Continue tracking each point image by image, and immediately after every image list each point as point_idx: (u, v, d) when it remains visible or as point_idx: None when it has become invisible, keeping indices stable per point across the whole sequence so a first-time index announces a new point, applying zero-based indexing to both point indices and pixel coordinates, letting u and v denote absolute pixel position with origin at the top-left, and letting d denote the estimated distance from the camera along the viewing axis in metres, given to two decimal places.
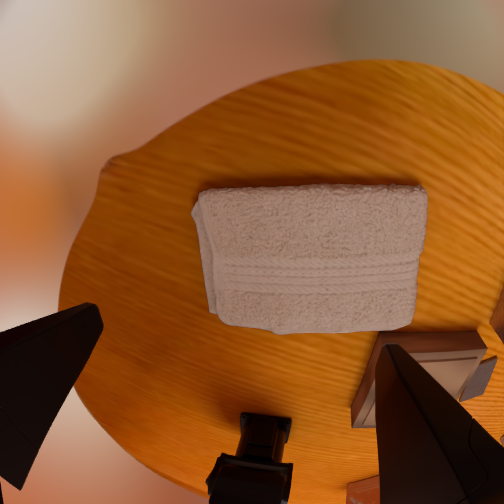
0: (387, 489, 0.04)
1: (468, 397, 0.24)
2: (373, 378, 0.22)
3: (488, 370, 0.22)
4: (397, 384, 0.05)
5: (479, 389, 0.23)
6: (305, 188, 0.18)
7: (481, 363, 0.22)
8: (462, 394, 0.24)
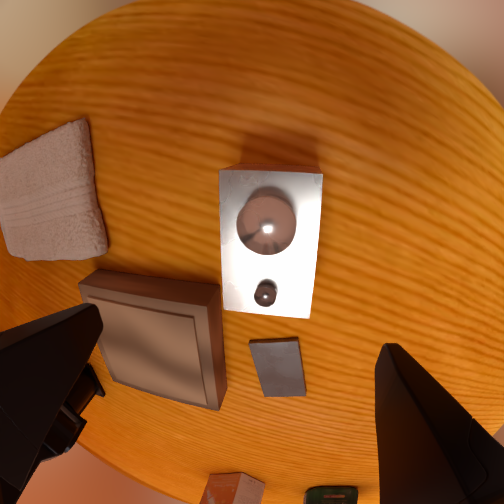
0: (387, 489, 0.04)
1: (276, 393, 0.24)
2: None
3: (288, 357, 0.22)
4: (397, 384, 0.05)
5: (292, 386, 0.23)
6: (20, 148, 0.18)
7: (265, 342, 0.22)
8: (262, 385, 0.24)
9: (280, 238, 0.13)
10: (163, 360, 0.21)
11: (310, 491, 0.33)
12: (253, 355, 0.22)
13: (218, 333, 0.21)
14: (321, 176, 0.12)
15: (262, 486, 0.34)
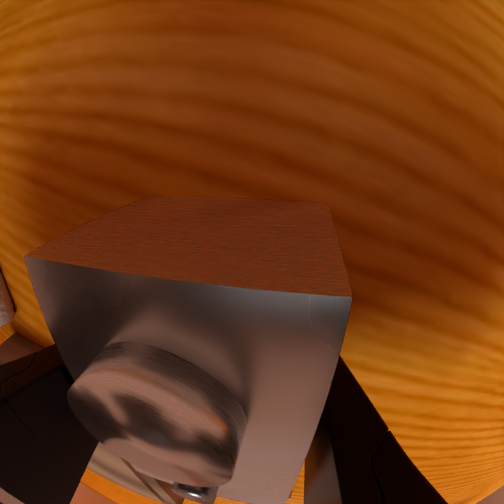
0: (307, 492, 0.04)
1: None
2: None
3: None
4: None
5: None
6: None
7: None
8: None
9: (190, 473, 0.03)
10: (98, 461, 0.11)
11: None
12: None
13: None
14: (345, 305, 0.03)
15: None
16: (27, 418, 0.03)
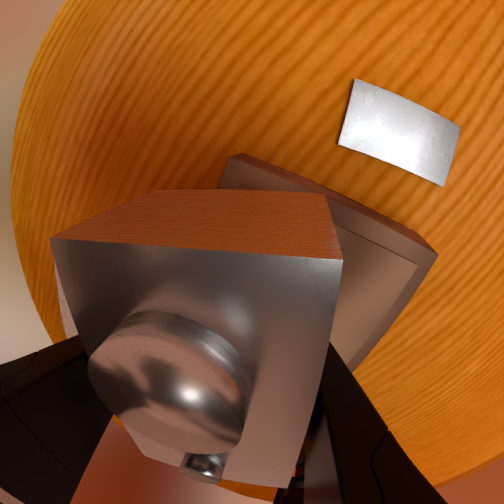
0: (307, 492, 0.04)
1: (443, 164, 0.13)
2: None
3: (381, 104, 0.12)
4: None
5: (437, 133, 0.12)
6: (63, 319, 0.23)
7: (344, 120, 0.13)
8: (422, 176, 0.14)
9: (201, 437, 0.04)
10: None
11: None
12: (361, 150, 0.14)
13: (304, 180, 0.14)
14: (337, 267, 0.03)
15: None
16: (27, 418, 0.03)
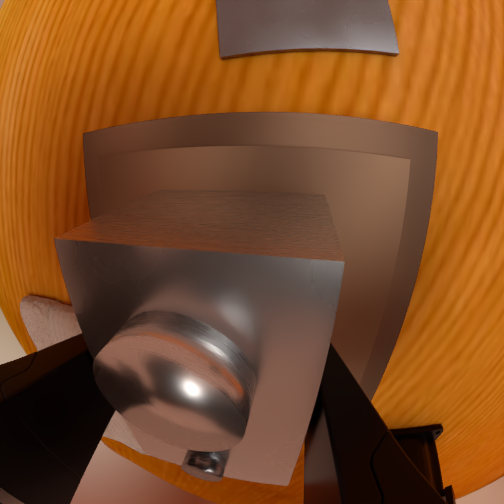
0: (307, 492, 0.04)
1: (382, 24, 0.07)
2: None
3: None
4: None
5: None
6: None
7: (219, 29, 0.08)
8: (360, 49, 0.08)
9: (205, 434, 0.04)
10: None
11: None
12: (254, 49, 0.09)
13: None
14: (339, 269, 0.03)
15: None
16: (27, 419, 0.03)
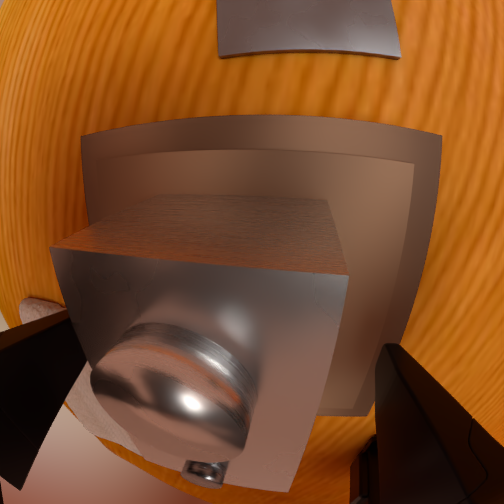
0: (387, 489, 0.04)
1: (384, 27, 0.07)
2: None
3: None
4: (397, 384, 0.05)
5: None
6: None
7: (218, 28, 0.08)
8: (361, 52, 0.08)
9: (205, 447, 0.04)
10: None
11: None
12: (253, 49, 0.08)
13: None
14: (343, 283, 0.03)
15: None
16: None
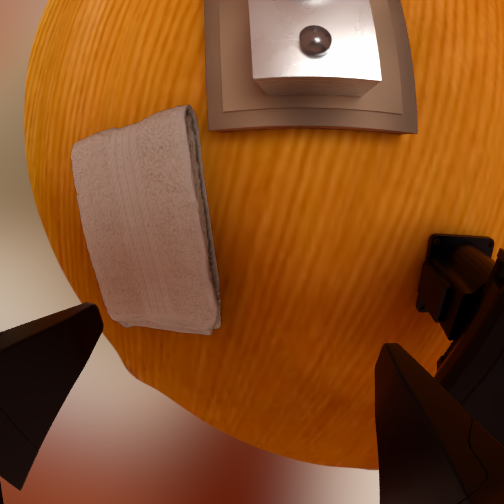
0: (387, 489, 0.04)
1: None
2: (269, 126, 0.14)
3: None
4: (397, 384, 0.05)
5: None
6: (88, 246, 0.21)
7: None
8: None
9: None
10: None
11: None
12: None
13: None
14: None
15: None
16: None
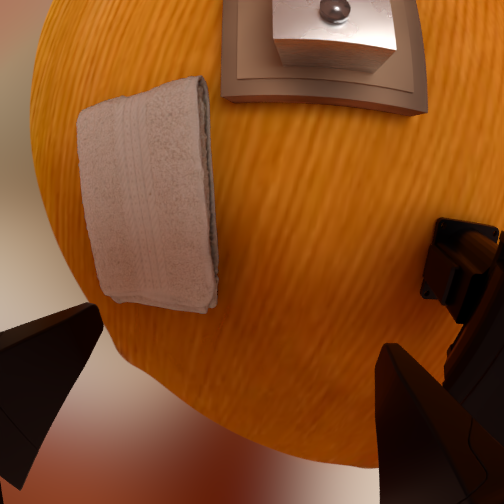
0: (387, 489, 0.04)
1: None
2: (282, 95, 0.14)
3: None
4: (397, 384, 0.05)
5: None
6: (85, 215, 0.21)
7: None
8: None
9: None
10: None
11: None
12: None
13: None
14: None
15: None
16: None
